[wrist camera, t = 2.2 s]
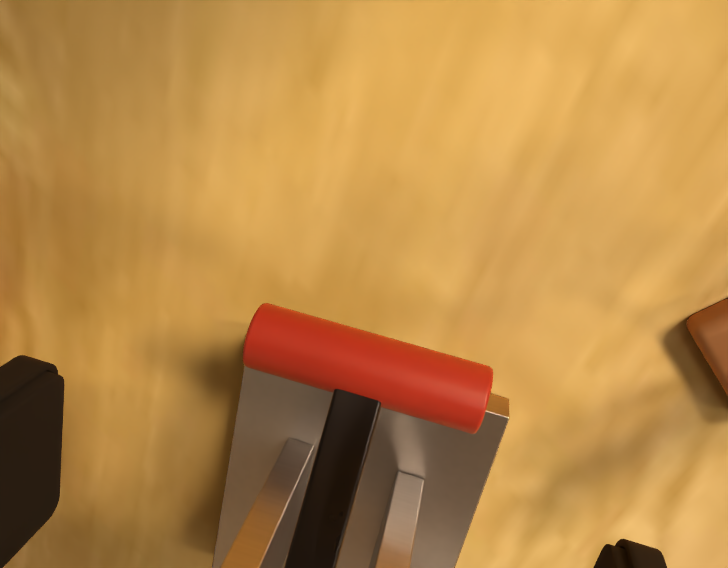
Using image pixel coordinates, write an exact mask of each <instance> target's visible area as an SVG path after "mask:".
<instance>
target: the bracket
mask: <svg viewBox="0 0 728 568" xmlns="http://www.w3.org/2000/svg"><path fill="white" fill-rule="evenodd" d="M332 395H333V393H332V392H328V391H325V390H322V389H318V388H315V387H312V386H308V385H305V384H301V383H298V382H295V381H291V380H288V379H285V378H281V377H278V376H274V375H271V374H268V373H264V372H261V371H258V370H254V369H251V368H248V367H246V366H244V372H243V378H242V385H241V391H240V397H239V403H238V410H237V416H236V422H235V428H234V434H233V441H232V447H231V453H230V459H229V466H228V472H227V478H226V484H225V490H224V497H223V503H222V509H221V515H220V522H219V528H218V534H217V540H216V547H215V553H214V559H213V565H212V568H284V566H285V562H286V559H287V555H288V552H289V548H290V545H291V541H292V538H293V534H294V530H295V527H296V523H297V520H298V516H299V513H300V509H301V506H302V502H303V498H304V495H305V491H306V488H307V484H308V481H309V477H310V474H311V470H312V466H313V463H314V459H315V456H316V452H317V449H318V445H319V442H320V438H321V434H322V431H323V427H324V424H325V420H326V417H327V413H328V410H329V406H330V402H331V399H332ZM508 420H509V399H507V398H504V397H501V396H497V395H494V394H490V397H489V401H488V405H487V409H486V412H485V415H484V418H483V421H482V423H481V426H480V428H479V429H478V431H477V432H476V433H475V434H470V433H467V432H463V431H460V430H456V429H453V428H450V427H446V426H443V425H440V424H436V423H433V422H429V421H426V420H423V419H419V418H416V417H413V416H409V415H406V414H402V413H399V412H396V411H392V410H389V409H386V408H382V407H381V410H380V414H379V417H378V421H377V424H376V428H375V432H374V435H373V439H372V442H371V446H370V450H369V453H368V457H367V460H366V464H365V468H364V471H363V475H362V478H361V482H360V486H359V489H358V493H357V496H356V500H355V503H354V507H353V511H352V514H351V518H350V521H349V525H348V529H347V532H346V536H345V539H344V543H343V547H342V550H341V554H340V557H339V561H338V564H337V568H455V566H456V563H457V560H458V558H459V555H460V552H461V549H462V547H463V544H464V541H465V538H466V536H467V533H468V530H469V527H470V525H471V522H472V519H473V516H474V514H475V511H476V508H477V505H478V503H479V500H480V497H481V494H482V492H483V489H484V486H485V483H486V481H487V478H488V475H489V473H490V470H491V467H492V464H493V462H494V459H495V456H496V453H497V451H498V448H499V445H500V442H501V440H502V437H503V434H504V431H505V429H506V426H507V423H508Z"/></svg>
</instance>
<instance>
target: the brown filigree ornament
mask: <svg viewBox="0 0 728 568" xmlns="http://www.w3.org/2000/svg"><path fill="white" fill-rule="evenodd" d="M687 328H688V330H689V332H690V334H691V335H692V337H693V339H694V340H695V342H696V344H697V345H698V347H699V349H700V350H701V352H702V354H703V355H704V357H705V359H706V360H707V362H708V364H709V366H710V367H711V369H712V371H713V372H714V374H715V376H716V377H717V379H718V381H719V382H720V384H721V386H722V387H723V389H724V391H725V392H726V394H727V396H728V298H727V299H725V300H723V301H721V302H719V303H716V304H714V305H712V306H710V307H708V308H706V309H704V310H702V311H700V312H698V313H695V314H693V315H692V316H691V317H689V319H688V321H687Z"/></svg>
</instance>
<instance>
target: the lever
mask: <svg viewBox="0 0 728 568" xmlns="http://www.w3.org/2000/svg"><path fill="white" fill-rule="evenodd" d="M243 363H244V365H245V366H246V367H248V368H251V369H254V370H258V371H261V372H264V373H268V374H271V375H274V376H278V377H281V378H285V379H288V380H291V381H295V382H298V383H301V384H305V385H308V386H312V387H315V388H318V389H322V390H325V391H328V392H332V393H333V395H332V399H331V402H330V406H329V410H328V413H327V417H326V420H325V424H324V427H323V431H322V434H321V438H320V442H319V445H318V449H317V452H316V456H315V459H314V463H313V466H312V470H311V474H310V477H309V481H308V484H307V488H306V491H305V495H304V498H303V502H302V506H301V509H300V513H299V516H298V520H297V523H296V527H295V530H294V534H293V538H292V541H291V545H290V548H289V552H288V555H287V559H286V562H285V566H284V568H337V564H338V561H339V557H340V554H341V550H342V547H343V543H344V539H345V536H346V532H347V529H348V525H349V521H350V518H351V514H352V511H353V507H354V503H355V500H356V496H357V493H358V489H359V486H360V482H361V478H362V475H363V471H364V468H365V464H366V460H367V457H368V453H369V450H370V446H371V442H372V439H373V435H374V432H375V428H376V424H377V421H378V417H379V414H380V410H381V407H382V408H386V409H389V410H392V411H396V412H399V413H402V414H406V415H409V416H413V417H416V418H419V419H423V420H426V421H429V422H433V423H436V424H440V425H443V426H446V427H450V428H453V429H456V430H460V431H463V432H467V433H470V434H475V433H476V432H477V431H478V429H479V428H480V426H481V423H482V421H483V418H484V415H485V412H486V409H487V405H488V401H489V397H490V393H491V388H492V382H493V370H492V368H491V367H489V366H486V365H483V364H479V363H476V362H472V361H469V360H465V359H462V358H458V357H455V356H451V355H448V354H444V353H441V352H437V351H434V350H430V349H427V348H423V347H420V346H416V345H413V344H409V343H406V342H402V341H399V340H395V339H392V338H388V337H385V336H381V335H378V334H374V333H371V332H367V331H364V330H360V329H357V328H353V327H350V326H346V325H343V324H339V323H336V322H332V321H328V320H325V319H321V318H318V317H314V316H311V315H307V314H304V313H300V312H297V311H293V310H290V309H286V308H283V307H279V306H276V305H272V304H269V303H264V304H262V305H260V307H259V308H258V309H257V311H256V312H255V314H254V316H253V318H252V320H251V323H250V325H249V328H248V331H247V334H246V338H245V342H244V347H243Z"/></svg>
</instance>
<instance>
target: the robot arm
mask: <svg viewBox="0 0 728 568" xmlns="http://www.w3.org/2000/svg"><path fill="white" fill-rule="evenodd" d="M63 404H64V379H63V377H62V376H60V375H58V370H57V368H56V366H55V365H53V364H51V363H48V362H44V361H41V360H38V359H35V358H31V357H28V356H25V355H20V356H17V357H15V358H13V359H12V360H10V361H9V362H7V363H6V364H4V365H3V366H1V367H0V568H3V567H4V566H5V565H6V564H7V563H8V562H9V561H10V559H11V558H12V557H13V556H14V555H15V554H16V553H17V552H18V551H19V550H20V549H21V548H22V547H23V546H24V545H25V544H26V543H27V542H28V540H29V539H30V538H31V537H32V536H33V535H34V534H35V533H36V532H37V531H38V530H39V529H40V528H41V527H42V526H43V525H44V524H45V523H46V521H47V520H48V519H49V518H50V517H51V516H52V514H53V512H54V511H55V509H56V507H57V504H58V501H59V495H60V473H61V450H62V427H63ZM594 568H667V566H666V563H665V560H664V557H663V555H662V553H661V552H660V551H659V550H658V549H655V548H652V547H649V546H645V545H642V544H639V543H635V542H632V541H629V540H626V539H620V540H619V541H618V542H617V543H616V545H615V546H613V545H610V544H606V545H605V546H604V547H603V549H602V551H601V553H600V555H599V557H598V559H597V561H596V564H595V566H594Z"/></svg>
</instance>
